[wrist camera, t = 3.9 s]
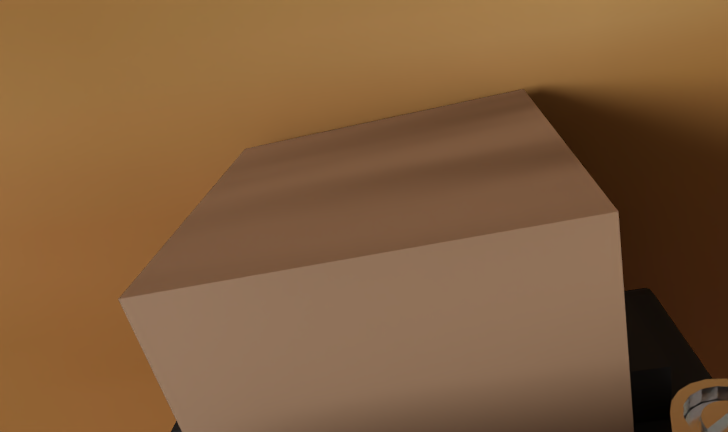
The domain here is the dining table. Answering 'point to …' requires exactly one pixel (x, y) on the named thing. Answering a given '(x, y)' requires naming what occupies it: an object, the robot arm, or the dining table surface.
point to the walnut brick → (395, 284)
